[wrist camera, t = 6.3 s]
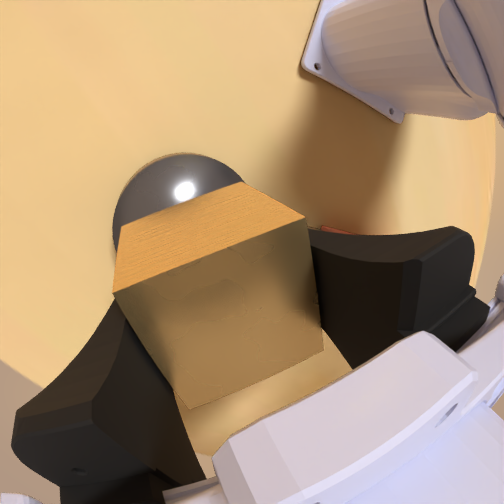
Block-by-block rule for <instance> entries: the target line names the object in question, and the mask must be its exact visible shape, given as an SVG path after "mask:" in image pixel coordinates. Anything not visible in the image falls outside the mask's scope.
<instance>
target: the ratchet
mask: <svg viewBox="0 0 504 504" xmlns="http://www.w3.org/2000/svg"><path fill="white" fill-rule="evenodd" d="M239 182H243V183H245V182H244V181H243V180H242V178H241V177H240V176H239V175H238V174H237V173H236V172H235V171H234V170H232V169H231V168H229V167H228V166H227V165H225V164H223V163H221V162H219V161H217V160H215V159H212V158H210V157H207V156H204V155H201V154H195V153H174V154H169V155H165V156H162V157H159V158H157V159H155V160H153V161H151V162H149V163H147V164H146V165H144V166H143V167H142V168H140V169H139V170H138V171H137V172H136V173H135V174H134V175H133V176H132V177H131V178H130V180H129V181H128V182H127V184H126V185H125V187H124V189H123V190H122V192H121V194H120V197H119V200H118V202H117V206H116V209H115V213H114V217H113V227H112V229H113V240H114V245H115V249H116V252H117V251H118V244H119V238H120V232H121V226H124V225H126V224H128V223H131V222H133V221H136V220H138V219H141V218H143V217H146V216H148V215H151V214H153V213H156V212H158V211H161V210H163V209H166V208H169V207H171V206H174V205H177V204H179V203H182V202H185V201H187V200H190V199H193V198H195V197H198V196H201V195H204V194H207V193H209V192H212V191H215V190H218V189H221V188H224V187H227V186H230V185H233V184H236V183H239ZM245 184H246V183H245ZM307 228H309V229H314V230H320V231H326V232H334V233H342V234H352V235H357V234H353V233H349V232H346V231H342V230H338V229H334V228H330V227H326V226H322V227H321V229H317V228H313V227H309V226H307Z"/></svg>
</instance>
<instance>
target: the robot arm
mask: <svg viewBox="0 0 504 504" xmlns="http://www.w3.org/2000/svg"><path fill="white" fill-rule="evenodd" d="M314 64H316V65H317V67H318V69H317V70H316V69H315V68H314ZM301 65H302V67H303V69H305V70H306V71H308V72H310V73H312V74H314V75H316V76H318V77H320V78H322V79H324V80H326V81H327V82H329V83H331V84H333V85H335V86H337V87H338V88H340V89H342V90H344V91H346V92H347V93H349V94H351V95H352V96H354V97H356V98H358V99H359V100H361V101H363V102H364V103H366V104H367V105H369V106H371V107H372V108H374V109H375V110H377V111H378V112H380V113H381V114H383V115H385V116H386V117H388V118H389V119H390V120H392V121H393V122H395V123H402V121H403V118H404V115H405V113H408V114H418V115H428V116H436V117H444V118H451V119H457V120H472V119H476V118H479V117H481V116H483V115H485V114H486V113H488V112H490V113H496V117H497V119H498V121H499V123H500V124H501V126H502V127H503V128H504V0H321V2H320V5H319V8H318V11H317V14H316V17H315V20H314V23H313V27H312V30H311V33H310V36H309V39H308V42H307V45H306V48H305V51H304V54H303V57H302V60H301ZM389 110H390V112H389ZM308 234H309V240H310V247H311V253H312V260H313V267H314V274H315V281H316V289H317V296H318V304H319V312H320V321H321V328H322V329H323V330H324V331H325V332H326V333H327V335H328V336H329V337H330V339H331V340H332V341H333V343H334V344H335V345H336V347H337V348H338V349H339V351H340V352H341V354H342V355H343V356H344V358H345V359H346V361H347V362H348V364H349V365H350V366H351V368H352V369H353V370H352V371H350V372H349V373H347V374H345V375H343V376H342V377H340V378H338V379H337V380H335V381H333V382H331V383H329V384H328V385H326V386H324V387H322V388H320V389H318V390H317V391H315V392H313V393H311V394H309V395H307V396H305V397H303V398H301V399H299V400H297V401H295V402H293V403H291V404H289V405H287V406H285V407H283V408H281V409H279V410H276V411H274V412H272V413H270V414H268V415H265V416H263V417H261V418H259V419H258V420H256V421H254V422H252V423H251V424H249V425H247V426H246V427H244V428H242V429H240V430H238V431H237V432H235V433H233V434H231V435H230V436H229V438H228V439H227V440H226V441H225V442H224V443H223V445H222V446H221V447H220V448H219V449H218V450H217V451H216V453H215V454H214V455H213V457H212V462H213V466H214V471H215V473H216V476H215V477H212V478H209V479H206V477H205V474H204V472H203V470H202V468H201V466H200V464H199V462H198V459H197V457H196V455H195V452H194V450H193V448H192V445H191V443H190V440H189V438H188V435H187V432H186V430H185V427H184V424H183V421H182V418H181V415H180V412H179V409H178V406H177V403H176V400H175V396H174V392H173V388H172V386H171V385H170V384H169V382H168V381H167V379H166V378H165V377H164V375H163V374H162V372H161V371H160V369H159V368H158V367H157V365H156V364H155V362H154V361H153V359H152V358H151V356H150V355H149V353H148V352H147V350H146V349H145V347H144V345H143V344H142V342H141V341H140V339H139V338H138V336H137V334H136V333H135V331H134V330H133V328H132V326H131V325H130V323H129V321H128V320H127V318H126V316H125V315H124V313H123V311H122V309H121V308H120V306H119V304H118V303H117V301H116V299H114V301H113V303H112V304H111V306H110V308H109V309H108V311H107V313H106V315H105V316H104V318H103V319H102V321H101V323H100V324H99V326H98V327H97V329H96V330H95V332H94V334H93V335H92V337H91V338H90V339H89V341H88V342H87V343H86V345H85V346H84V347H83V349H82V350H81V351H80V352H79V354H78V355H77V356H76V357H75V358H74V359H73V361H72V362H71V363H70V364H69V365H68V366H67V367H66V368H65V369H64V371H63V372H62V373H61V374H60V375H59V376H58V377H57V378H56V379H55V380H54V381H53V382H51V383H50V384H49V385H48V386H47V387H46V388H45V389H44V390H43V391H41V392H40V393H39V394H38V395H37V396H35V397H34V398H33V399H31V400H30V401H29V402H27V403H26V404H25V405H23V406H22V407H21V408H19V409H18V410H17V411H16V416H15V422H14V428H13V435H12V443H11V447H12V450H13V452H14V453H15V455H16V456H17V457H18V458H19V460H20V461H21V462H22V463H23V464H25V465H26V466H27V467H29V468H30V469H32V470H33V471H34V472H36V473H38V474H39V475H41V476H42V477H44V478H46V479H47V480H49V481H51V482H52V483H54V484H56V485H57V486H59V487H60V501H61V504H504V421H503V420H502V419H501V418H500V417H499V416H498V415H497V414H496V413H495V412H494V411H493V410H492V409H491V408H492V406H493V405H494V404H495V403H496V402H497V400H498V399H499V397H500V396H501V395H502V394H503V392H504V273H503V274H502V276H501V277H500V279H499V282H498V284H497V288H496V292H495V297H494V298H493V299H492V300H491V301H490V302H489V303H488V304H485V303H484V302H482V301H481V300H479V299H478V298H476V297H475V294H476V289H475V288H473V287H472V286H470V285H469V281H470V277H471V272H472V267H473V262H474V254H475V249H474V242H473V239H472V236H471V235H470V234H469V233H467V232H465V231H463V230H461V229H459V228H457V227H454V226H448V227H444V228H439V229H434V230H429V231H424V232H416V233H408V234H398V235H352V234H342V233H334V232H326V231H320V230H314V229H309V228H308ZM1 504H43V503H42V502H40V501H39V500H37V499H35V498H33V497H31V496H28V495H25V494H21V493H5V492H3V493H1Z"/></svg>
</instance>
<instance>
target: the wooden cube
mask: <svg viewBox="0 0 504 504" xmlns="http://www.w3.org/2000/svg"><path fill="white" fill-rule="evenodd" d="M112 294H113V295H114V297H115V299H116V301H117V303H118V304H119V306H120V308H121V309H122V311H123V313H124V315H125V316H126V318H127V320H128V321H129V323H130V325H131V326H132V328H133V330H134V331H135V333H136V334H137V336H138V338H139V339H140V341H141V342H142V344H143V345H144V347H145V349H146V350H147V352H148V353H149V355H150V356H151V358H152V359H153V361H154V362H155V364H156V365H157V367H158V368H159V369H160V371H161V372H162V374H163V375H164V377H165V378H166V379H167V381H168V382H169V384H170V385H171V386H172V388H173V389H174V390H175V392H176V393H177V394H178V396H179V397H180V398H181V400H182V401H183V402H184V404H185V405H186V406H187V408H188V409H189V410H190V409H193V408H195V407H198V406H201V405H203V404H206V403H209V402H211V401H214V400H217V399H219V398H222V397H224V396H227V395H229V394H231V393H234V392H236V391H239V390H241V389H243V388H246V387H248V386H250V385H253V384H255V383H257V382H259V381H262V380H264V379H266V378H268V377H270V376H273V375H275V374H277V373H279V372H281V371H283V370H285V369H287V368H289V367H292V366H294V365H296V364H298V363H300V362H302V361H304V360H306V359H308V358H309V357H311V356H313V355H315V354H317V353H319V352H321V351H323V350H324V348H323V339H322V329H321V321H320V312H319V304H318V296H317V289H316V281H315V274H314V267H313V260H312V253H311V247H310V240H309V234H308V228H307V222H306V217H305V216H303V215H301V214H299V213H298V212H296V211H294V210H292V209H291V208H289V207H287V206H285V205H283V204H282V203H280V202H278V201H276V200H274V199H273V198H271V197H269V196H267V195H265V194H263V193H262V192H260V191H258V190H256V189H254V188H252V187H251V186H249V185H247V184H245V183H243V182H239V183H236V184H233V185H230V186H227V187H224V188H221V189H218V190H215V191H212V192H209V193H207V194H204V195H201V196H198V197H195V198H193V199H190V200H187V201H185V202H182V203H179V204H177V205H174V206H171V207H169V208H166V209H163V210H161V211H158V212H156V213H153V214H151V215H148V216H146V217H143V218H141V219H138V220H136V221H133V222H131V223H128V224H126V225H124V226H121V232H120V238H119V244H118V251H117V258H116V265H115V273H114V281H113V291H112Z"/></svg>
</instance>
